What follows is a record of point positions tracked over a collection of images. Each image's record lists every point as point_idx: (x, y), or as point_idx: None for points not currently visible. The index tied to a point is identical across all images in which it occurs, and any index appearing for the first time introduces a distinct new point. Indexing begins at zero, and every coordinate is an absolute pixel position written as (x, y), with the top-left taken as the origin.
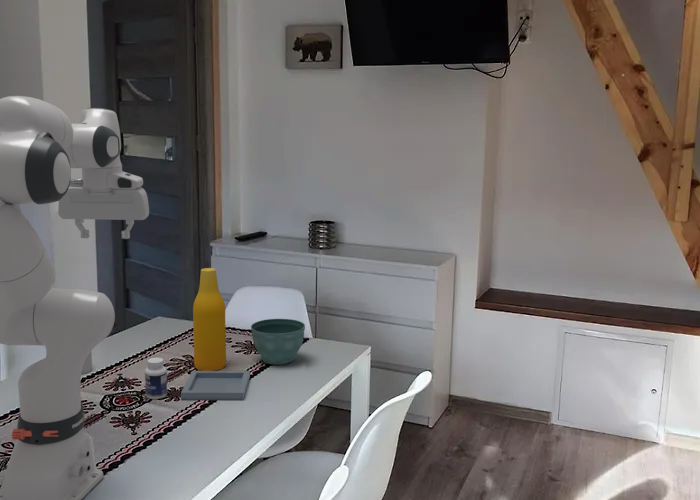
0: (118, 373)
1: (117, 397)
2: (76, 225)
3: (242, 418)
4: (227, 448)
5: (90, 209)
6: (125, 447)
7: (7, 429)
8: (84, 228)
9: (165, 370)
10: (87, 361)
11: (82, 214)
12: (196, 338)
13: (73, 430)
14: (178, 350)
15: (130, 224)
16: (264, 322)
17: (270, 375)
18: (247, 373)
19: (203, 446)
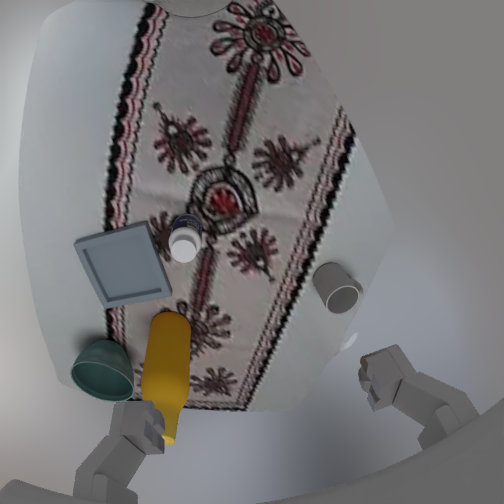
0: (275, 281)
1: (238, 208)
2: (453, 388)
3: (54, 189)
4: (39, 110)
5: None
6: (149, 67)
7: (330, 89)
8: (400, 406)
9: (169, 245)
10: (319, 282)
11: (455, 470)
12: (177, 343)
13: None
14: (235, 356)
15: (84, 472)
16: (129, 394)
17: (90, 313)
18: (102, 301)
19: (62, 103)
